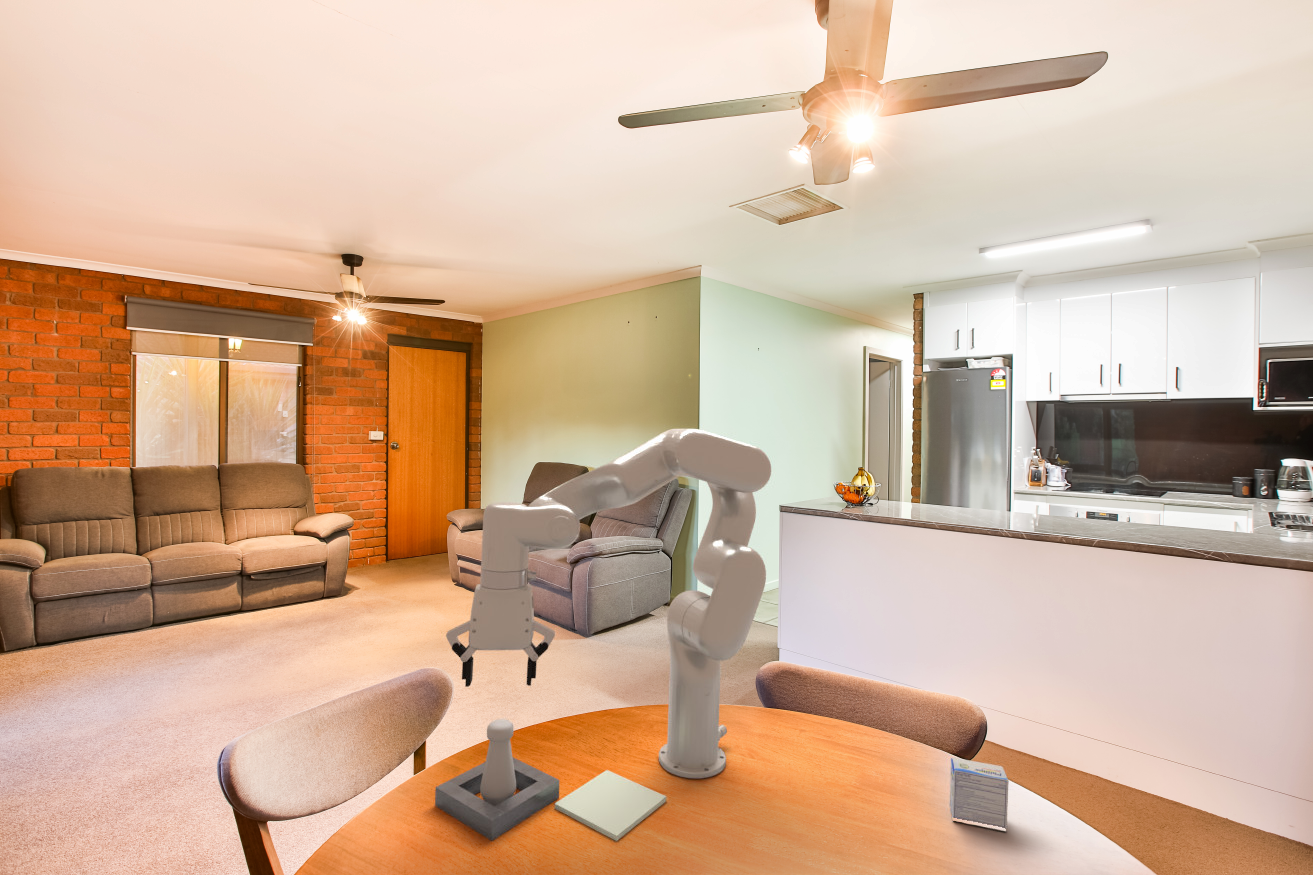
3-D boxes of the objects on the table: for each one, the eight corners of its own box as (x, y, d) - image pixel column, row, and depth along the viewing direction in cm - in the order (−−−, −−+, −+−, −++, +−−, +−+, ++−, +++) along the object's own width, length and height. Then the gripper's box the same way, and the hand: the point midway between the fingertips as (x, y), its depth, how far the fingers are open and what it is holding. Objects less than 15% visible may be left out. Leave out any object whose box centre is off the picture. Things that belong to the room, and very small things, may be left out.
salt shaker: (506, 814, 98) (508, 733, 98) (473, 809, 99) (475, 728, 99) (521, 794, 104) (524, 716, 104) (490, 789, 105) (492, 712, 105)
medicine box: (1001, 818, 101) (1003, 765, 101) (1007, 834, 97) (1009, 779, 97) (948, 807, 104) (950, 755, 104) (952, 822, 100) (953, 769, 100)
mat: (606, 774, 111) (606, 769, 111) (666, 800, 103) (666, 796, 103) (554, 808, 100) (554, 803, 100) (616, 840, 93) (616, 835, 93)
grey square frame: (503, 769, 111) (503, 752, 111) (558, 797, 103) (559, 779, 103) (434, 805, 100) (435, 786, 100) (491, 840, 92) (492, 820, 92)
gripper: (557, 574, 107) (552, 673, 106) (453, 572, 104) (448, 674, 104) (557, 584, 99) (552, 691, 99) (445, 583, 96) (439, 693, 96)
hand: (499, 682), depth 101 cm, fingers open, 9 cm apart
